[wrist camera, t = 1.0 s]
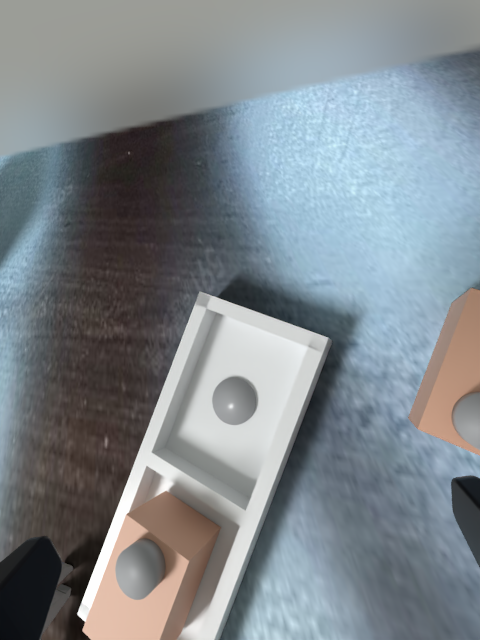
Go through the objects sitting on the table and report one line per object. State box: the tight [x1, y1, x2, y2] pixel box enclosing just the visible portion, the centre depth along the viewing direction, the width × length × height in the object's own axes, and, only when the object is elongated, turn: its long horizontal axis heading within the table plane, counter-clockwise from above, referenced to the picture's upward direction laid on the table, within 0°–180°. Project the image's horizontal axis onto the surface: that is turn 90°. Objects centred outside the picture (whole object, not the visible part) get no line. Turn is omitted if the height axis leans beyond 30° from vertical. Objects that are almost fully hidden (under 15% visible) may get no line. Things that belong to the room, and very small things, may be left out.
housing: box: [77, 292, 333, 640], centre depth 22 cm, size 9×23×2 cm, turn 157°
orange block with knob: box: [82, 491, 221, 640], centre depth 20 cm, size 4×7×5 cm, turn 157°
